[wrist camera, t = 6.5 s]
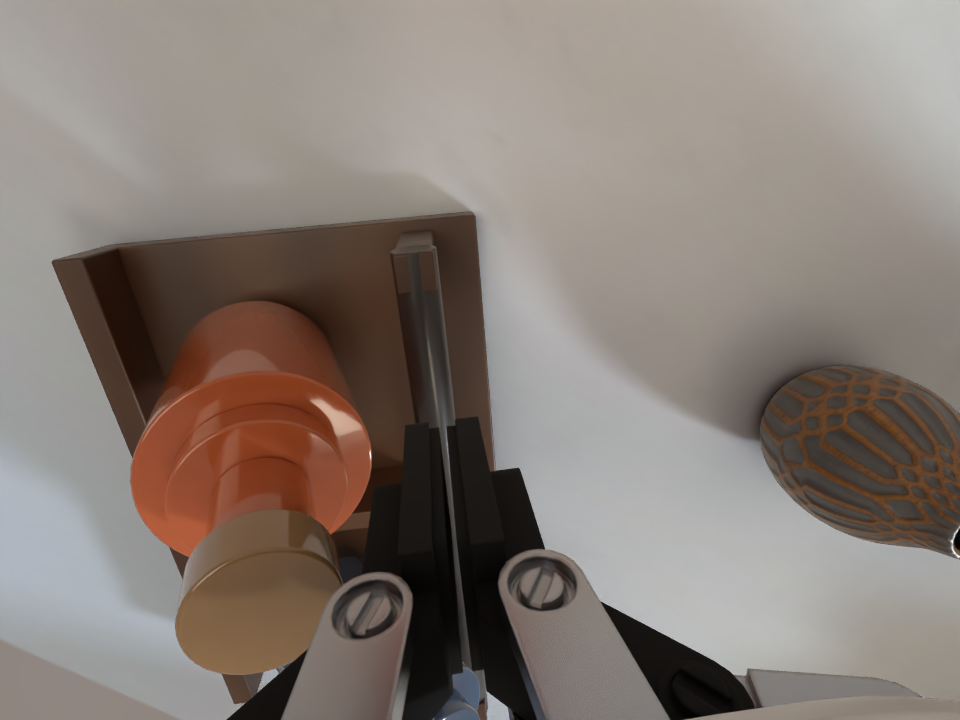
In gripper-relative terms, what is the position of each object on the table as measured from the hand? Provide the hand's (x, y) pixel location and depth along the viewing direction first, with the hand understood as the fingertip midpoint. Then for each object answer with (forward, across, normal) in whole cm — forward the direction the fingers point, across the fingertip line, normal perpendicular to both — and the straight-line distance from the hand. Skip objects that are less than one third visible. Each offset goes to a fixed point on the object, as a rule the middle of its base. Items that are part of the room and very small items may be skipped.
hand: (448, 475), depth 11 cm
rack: (+11, +5, +6) cm, 14 cm away
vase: (+11, -18, +6) cm, 21 cm away
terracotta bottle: (+9, +7, 0) cm, 11 cm away
